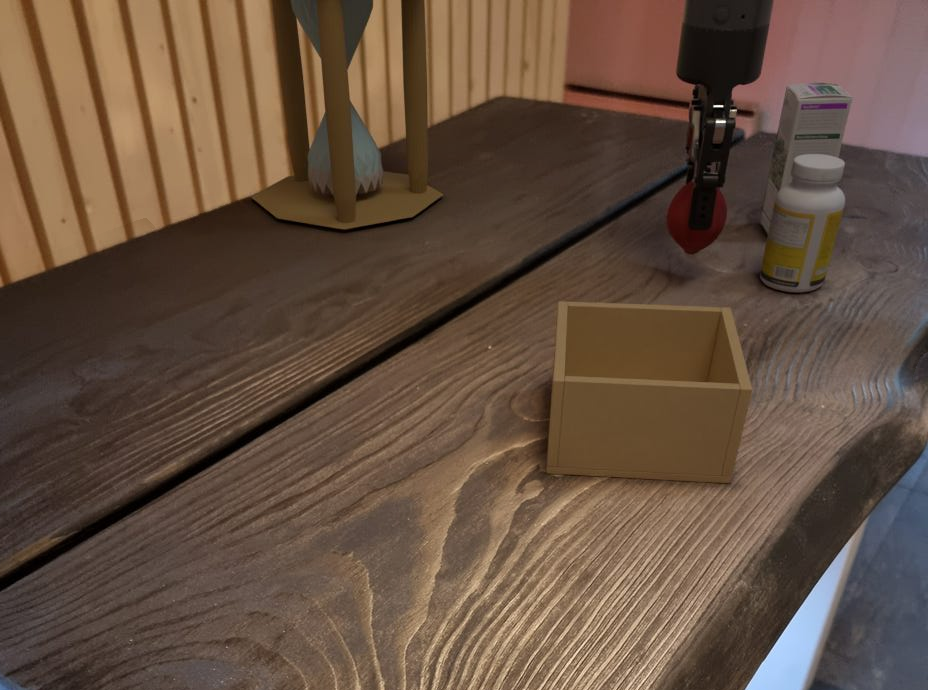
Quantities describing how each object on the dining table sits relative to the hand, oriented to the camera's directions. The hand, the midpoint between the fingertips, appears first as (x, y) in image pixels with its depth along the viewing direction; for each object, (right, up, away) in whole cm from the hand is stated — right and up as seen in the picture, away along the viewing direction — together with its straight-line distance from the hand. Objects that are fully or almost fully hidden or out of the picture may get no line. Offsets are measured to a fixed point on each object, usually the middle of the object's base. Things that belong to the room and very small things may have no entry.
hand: (696, 216), depth 92 cm
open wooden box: (-10, -26, -18) cm, 33 cm away
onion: (0, -3, +3) cm, 4 cm away
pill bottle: (+11, -5, +3) cm, 12 cm away
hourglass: (-38, +13, +24) cm, 46 cm away
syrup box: (+14, +5, +14) cm, 21 cm away
